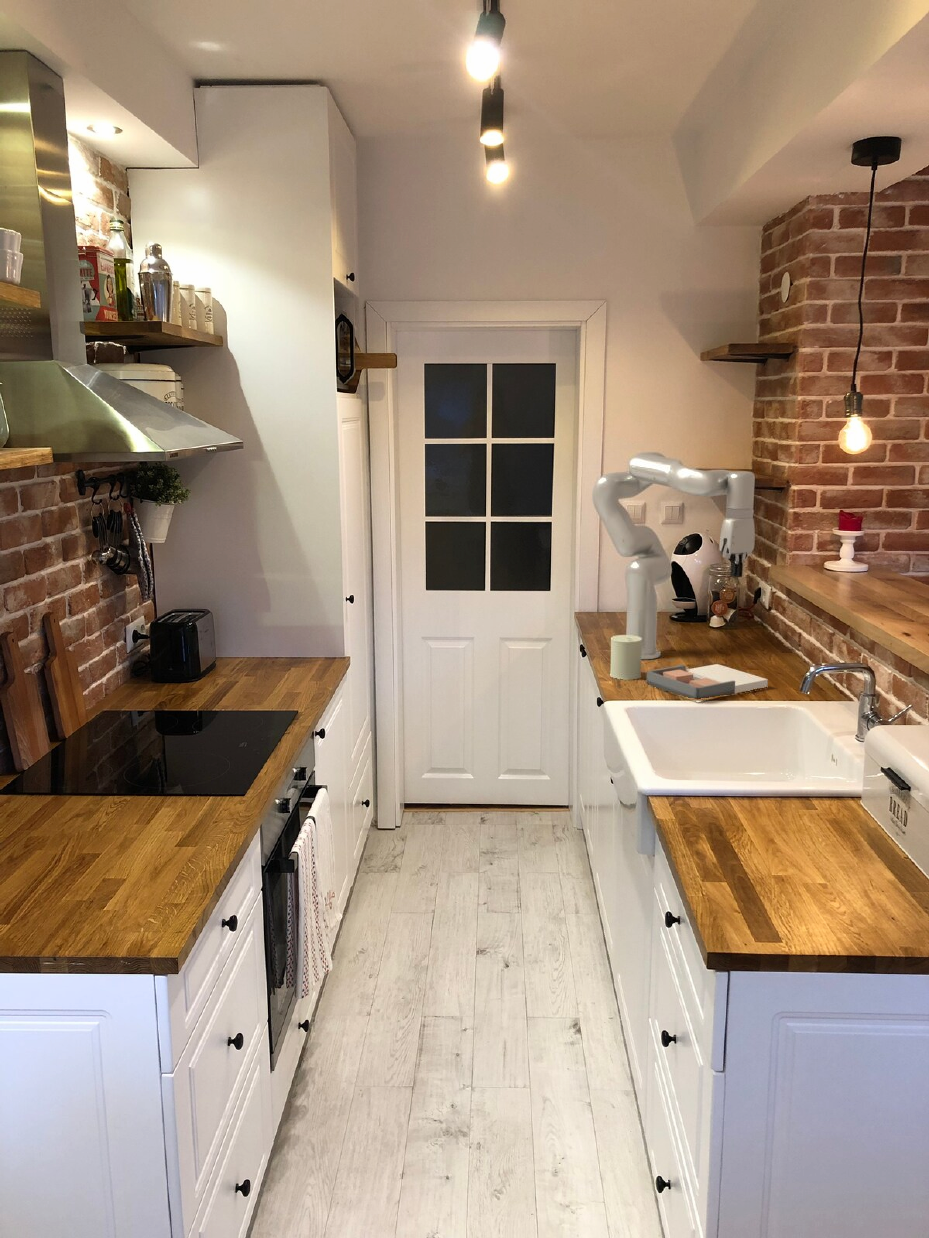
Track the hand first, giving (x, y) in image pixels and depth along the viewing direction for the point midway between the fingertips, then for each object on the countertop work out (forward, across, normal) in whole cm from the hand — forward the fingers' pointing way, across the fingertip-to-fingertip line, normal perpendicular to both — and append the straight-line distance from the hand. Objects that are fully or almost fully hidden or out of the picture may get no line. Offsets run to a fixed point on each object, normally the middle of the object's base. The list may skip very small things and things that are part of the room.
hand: (736, 576), depth 287 cm
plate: (+29, +10, +8) cm, 32 cm away
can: (+29, +30, -13) cm, 44 cm away
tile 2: (+28, +23, +13) cm, 39 cm away
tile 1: (+28, +23, +2) cm, 36 cm away
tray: (+29, +24, +8) cm, 39 cm away
